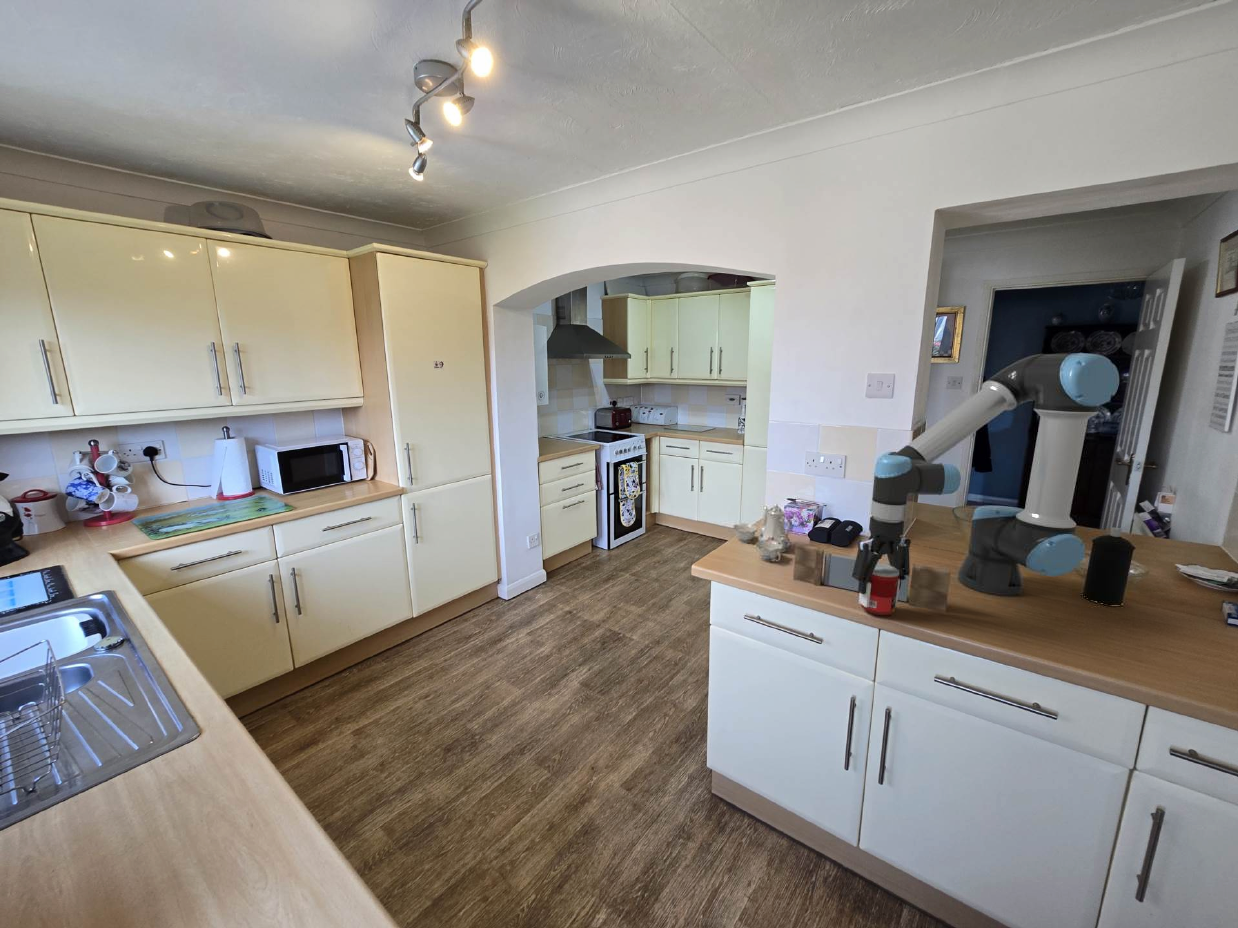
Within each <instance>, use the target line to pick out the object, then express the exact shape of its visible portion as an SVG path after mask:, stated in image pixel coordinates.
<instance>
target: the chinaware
mask: <svg viewBox="0 0 1238 928" xmlns="http://www.w3.org/2000/svg"><path fill="white" fill-rule="evenodd" d="M763 510H764V511H763V512H764V513H763V516H762V519H761V522H760V527H759V528H760V531H759V533H760V534H759V535H758V537H757V542H756V543H754V545H755V547H756V548H757V549H756V550H757V552H758V554H759V556H760V557H761V558H762V561H764V562H768V563H769V562H775V561H776V562H779V561H780V560H781V554H782V553H785V552H786V551H787V549H788V548H789V547H790V546H791V539H790V538H789V537H788V536H789V535H790V533H791V525H790V522H789V520H788V519H787V518H786V517H785V515H786V511H785V510H783V509H781V507H779V505H778V504H777V503H774V504H773V506H772V507H770V508H768V506H766V505H764V506H763ZM784 522H785V523H786V526H787V532H786V530H785V526H784V525H785V523H784ZM733 530H734V532H735V535H736V537H737V536H738V537H737V538H738V539H739V541H740V542H741V543H744V544H745V543H746V544H747V543H750V542H751V540H752V539H754V537H755V536H756V532H757V533H758V527H757V526H756V525H750V524H748V523H741V524H734V525H733ZM777 557H778V559H776V558H777Z"/></svg>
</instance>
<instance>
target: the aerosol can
mask: <svg viewBox="0 0 1238 928" xmlns="http://www.w3.org/2000/svg"><path fill="white" fill-rule="evenodd" d="M1121 534H1122V528H1120V527H1111V528H1110V531H1109V534H1105V535H1099V536H1097V537H1095V538H1093V539H1092V540H1091V542H1092V545H1091V550H1090V556H1089V560H1088V566H1087V570H1086V575H1085V581H1084V587H1083V593H1082V592H1081V595H1082V594H1083V596H1085V598H1088V599H1089V600H1093V601H1097V602H1098V603H1103V604H1107V605H1121V604H1122V603H1123V602H1124V599H1125V598H1124V597H1125V593H1126V592H1125V591H1126V588H1127V582H1128V578H1129V573H1130V568H1131V564H1132V559H1133V554H1134V551H1136V547H1135V546H1134V545H1133V543H1132V542H1131V541H1129V540H1127V539H1126V538H1124V537H1122V536H1121ZM1083 596H1082V597H1083ZM1085 598H1084V599H1085ZM1089 600H1088V601H1089ZM1098 603H1097V604H1098ZM1107 605H1106V606H1107Z"/></svg>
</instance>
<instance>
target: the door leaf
mask: <svg viewBox="0 0 1238 928" xmlns="http://www.w3.org/2000/svg"><path fill="white" fill-rule="evenodd" d="M855 561H856V557H850V556H843V555H838V554H832V553H828V552H827V553H824V562H823V567H824V568H823V575H822V584H823V585H825V586H832V587H837V588H841V589H845V590H851V591H854V592H858V587H859V581H858V580H856V579H855V578H853V577H852V574H853V569H854V565H855ZM882 564H884V563H882ZM886 564H887V563H886ZM887 565H889V563H888V564H887ZM910 576H911V575H910V574H909V575H908V576H907V575H905V577H906V579H905V580H901V588H900V589H899V592H898V600H897V601H902V602H907V600H908V599H907V598H908V591H909V584H910V583H909V582H910Z"/></svg>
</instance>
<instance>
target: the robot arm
mask: <svg viewBox="0 0 1238 928" xmlns="http://www.w3.org/2000/svg"><path fill="white" fill-rule="evenodd" d="M1119 385H1120V375H1119V371H1118V368H1117V366H1116V365H1115V363H1112V361H1111V359H1109V358H1108V357H1106V356H1104V355H1101V354H1098V353H1097V354H1096V353H1084V352H1078V353H1051V354H1050V353H1039V354H1034V355H1029V356H1027V357H1024V358H1022V359H1020V360H1017V361H1015V362H1013V363H1012V364H1010V365H1008V366H1007V367H1005V368H1003V369H1001V370H1000V371H998V372H997V373H996V374H994V375H993V376H991V377H990V378H989V379H987V380H986V381H985V382H983V383H982V385H981V390H979V391H978V392H976V393H975V394H973V396H971V397H969V398H967V400H966V401H965V402H962V403H961V404H960V405H959V406H957V407H956V408H955V409H954V410H952V411H951V412H950V413H948V414H947V415H945V416H944V417H943V418H941V419H940V420H939V421H937V422H936V423H935V424H934V425H932V426H930V427H929V428H928V429H927V430H925V431H923V432H922V433H921V434H920V435H919V436H917V437H916V438H915V439H913V440H912V441H911V442H909V443H908V444H907V445H905V446H904V447H902V448H901V449H900V450H898V451H888V452H887V451H886V452H885V453H883V454H881V455H880V456H879V457H877V459H876V462H875V465H874V466H875V467H874V472H873V476H874V477H873V487H872V497H871V506H870V507H871V508H870V515H871V516H870V518H869V526H868V530H869V532H870V535H869V537H868V540H865V541H862V540H858V542H857V548H858V549H857V554H856V557H855V559H856V561H855V565H854V569H853V574H852V577H853V578H855V579H856V580H858V581H859V587H858V591H857V592H858V593H859V597H858V604H860V605H861V604H862V605H863V606H865V607H869V600H870V590H871V583H870V582H868V581H869V579H870V577H871V575H872V573H873V571H874V569H875V567H876V565H877V563H879V560H881V559H882V557H883V556H885V555H886V556H887V559H888V564H889V565H890V566H892V567H894V568H896V569H898V570H899V580H898V588H897V596H896V604H898V601H899V600H898V592H899V589H900V588H901V580H905V579H906V577H905V575H907V576H908V575H909V574H910V573H911V568H910V567H911V565H910V563H911V562H910V547H911V543H912V540H911V539H910V538H908V537H905V536H903V535H904V530H905V529H904V527H905V521H904V520H905V519H906V510H907V502H908V498H909V497H908V496H915V495H916V496H917V495H918V496H919V495H920V496H924V495H926V496H927V495H929V496H932V495H935V496H937V495H938V496H942V495H950V494H951V495H952V494H954V493H956V492H957V491H958V490H959V488H960V486H961V481H962V477H961V476H962V475H961V472H960V470H959V469H958V467H957V466H956V465H954V464H951V463H943V462H940V463H934V462H935V461H937V460H938V459H940V458H941V457H942V456H944V455H945V454H946V453H948V452H949V451H950V450H952V449H953V448H955V447H956V446H957V445H959V444H960V443H962V442H963V441H964V440H966V439H967V438H968V437H969V436H971V435H973V433H975V432H977V431H978V430H980V428H982V427H983V426H984V425H986V424H988V423H989V422H991V421H992V420H993V419H995V417H997V416H998V415H1000V414H1001V413H1003V412H1004V411H1011V410H1014V409H1015V408H1017V407H1018V406H1019V405H1022V404H1023V403H1027V402H1030V401H1033V402H1034V405H1033V411H1035V412H1036V413H1037V415H1038V416H1040V419H1039V424H1038V430H1037V431H1038V432H1037V435H1036V442H1035V447H1034V453H1033V460H1032V465H1031V471H1030V476H1029V482H1028V483H1029V484H1028V488H1027V493H1026V500H1025V507H1024V508H1021V507H1020V508H1019V507H1015V506H1006V505H1005V506H1004V505H981V506H980V505H979V506H978V507H976V508H975V510H974V511H973V516H972V518H971V526H970V527H971V528H970V535H969V544H968V552H967V555H966V557H965V559H964V560H963V562H962V563H961V565H960V567H959V568H958V571H957V576H956V578H957V580H958V582H959V583H960V584H962V585H964V586H965V587H968V588H970V589H972V590H974V591H978V592H981V593H985V594H990V595H994V596H1003V597H1005V596H1006V597H1009V596H1010V597H1011V596H1019V595H1021V594H1022V593H1023V589H1024V579H1023V577H1022V573H1021V570H1020V565H1021V566H1023V567H1024V568H1027V569H1029V571H1030V572H1031V571H1032V572H1035V573H1038V574H1040V575H1043V576H1047V577H1059V576H1064V575H1066V574H1068V573H1070V572H1071V571H1072V570H1075V569H1076V568H1077V567H1078V566H1079V564H1081V563H1082V561H1083V559H1084V556H1085V554H1086V546H1085V543H1084V542H1083V540H1082V539H1081V538H1080V537H1078V536H1077V535H1076V527H1077V523H1076V522H1075V520H1073V518H1072V517H1071V516H1070V514H1071V510H1072V504H1073V499H1074V494H1075V488H1076V482H1077V479H1078V474H1079V467H1080V462H1081V457H1082V453H1083V452H1082V451H1083V446H1084V441H1085V437H1086V431H1087V426H1088V421H1089V419H1090V418H1092V417H1094V416H1095V415H1097V414H1098V413H1099V410H1100V406H1102V405H1104V404H1106V403H1108V402H1109V401H1110V400H1112V397H1113V396H1115V394H1117V391H1118V388H1119ZM864 576H865V577H864ZM909 576H910V575H909Z"/></svg>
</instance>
